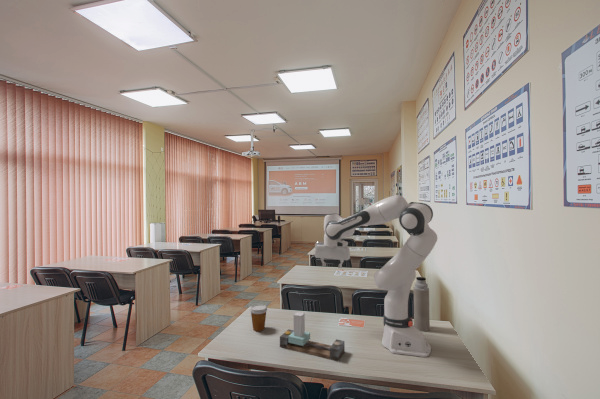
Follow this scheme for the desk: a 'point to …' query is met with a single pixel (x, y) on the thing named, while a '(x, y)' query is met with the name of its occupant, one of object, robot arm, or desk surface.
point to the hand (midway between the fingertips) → (332, 266)
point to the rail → (315, 347)
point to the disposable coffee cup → (258, 317)
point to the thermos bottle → (421, 305)
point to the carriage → (299, 330)
